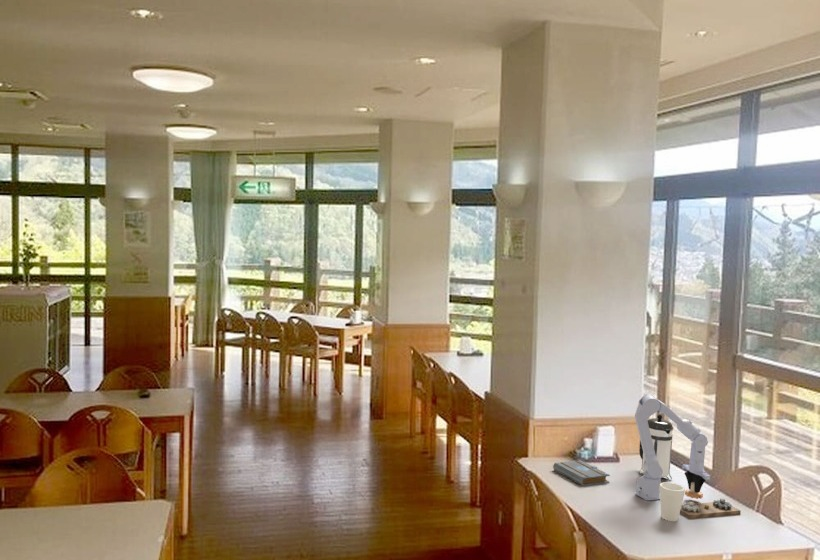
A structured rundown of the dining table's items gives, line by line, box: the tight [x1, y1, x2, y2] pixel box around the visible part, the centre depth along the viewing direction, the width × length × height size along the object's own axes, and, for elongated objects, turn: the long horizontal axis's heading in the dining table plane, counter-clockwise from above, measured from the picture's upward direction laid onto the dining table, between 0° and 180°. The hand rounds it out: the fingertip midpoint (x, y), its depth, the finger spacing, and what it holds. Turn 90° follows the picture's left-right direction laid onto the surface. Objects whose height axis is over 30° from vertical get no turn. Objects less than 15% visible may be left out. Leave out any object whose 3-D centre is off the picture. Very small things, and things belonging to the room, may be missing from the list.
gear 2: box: [712, 498, 732, 510], centre depth 289 cm, size 7×7×3 cm
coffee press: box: [638, 414, 675, 480], centre depth 327 cm, size 17×16×30 cm
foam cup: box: [659, 482, 686, 522], centre depth 277 cm, size 10×9×13 cm
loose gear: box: [684, 482, 704, 500], centre depth 298 cm, size 7×7×6 cm
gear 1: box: [682, 500, 701, 513], centre depth 284 cm, size 7×7×3 cm
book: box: [552, 460, 611, 487], centre depth 321 cm, size 21×16×5 cm
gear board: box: [679, 501, 741, 520], centre depth 287 cm, size 26×10×3 cm, turn 109°
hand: (694, 490), depth 298 cm, fingers closed on loose gear, 3 cm apart
